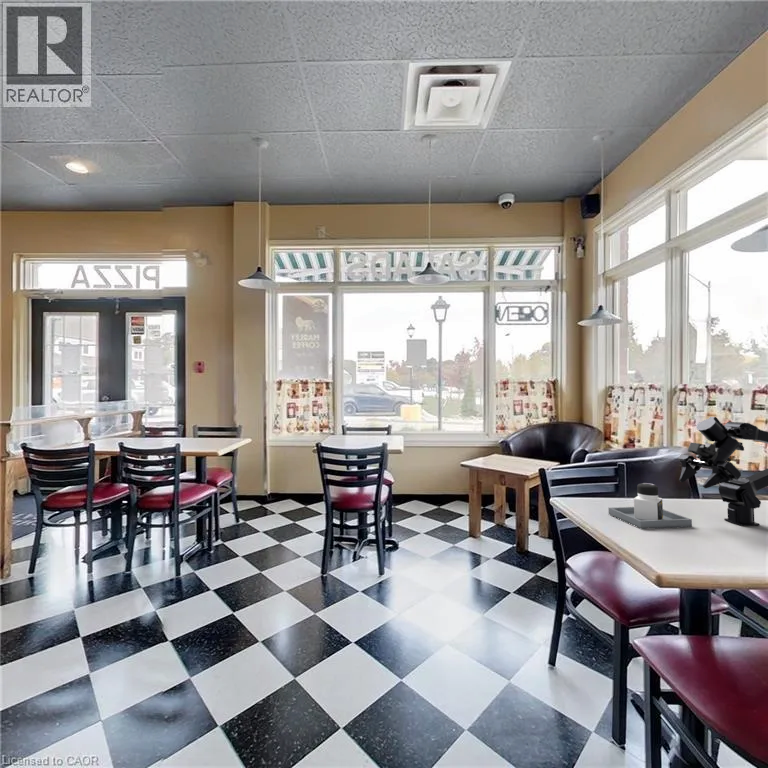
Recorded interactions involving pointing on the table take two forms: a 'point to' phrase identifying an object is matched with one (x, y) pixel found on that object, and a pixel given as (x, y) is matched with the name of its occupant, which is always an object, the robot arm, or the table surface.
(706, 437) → the robot arm
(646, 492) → the medicine bottle
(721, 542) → the table surface
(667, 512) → the tray
